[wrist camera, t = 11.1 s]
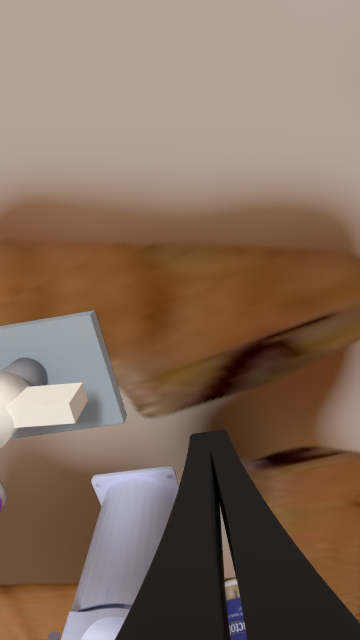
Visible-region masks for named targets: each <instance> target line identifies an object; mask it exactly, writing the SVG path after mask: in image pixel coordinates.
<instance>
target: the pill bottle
mask: <svg viewBox="0 0 360 640" xmlns="http://www.w3.org/2000/svg"><path fill="white" fill-rule="evenodd" d="M225 592H226V603H227V611H228V619H229V627H230V635H231V640H247V637H246V631H245V625H244V619H243V612H242V606H241V600H240V594H239V589H238V584H237V579H236V578H235V579H230V580H227V581H225Z"/></svg>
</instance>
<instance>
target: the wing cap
mask: <svg viewBox="0 0 360 640" xmlns="http://www.w3.org/2000/svg"><path fill="white" fill-rule="evenodd" d="M87 401H88V400H87V396H86V392H85V389H84V385H83V382H82V383H69V384H57V385H45V386H33V387H30V386H29V385H28V383H27V382H26V381H24V380H23V379H22V378H21V377H19V376H17V375H15V374H13V373H11V372H8V371H3V370H0V448H1V447H3V446H4V445H5V444H6V443H7V441H8V440H9V439H10V438H11V437H12V435H13V434H14V433H15V432H16V431H17V430H18V428H20V427H33V426H46V425H60V424H73V423H76V421H77V419H78V417H79V416H80V414H81V412H82V410H83V408H84V407H85V405H86V403H87Z"/></svg>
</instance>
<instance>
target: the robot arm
mask: <svg viewBox="0 0 360 640" xmlns="http://www.w3.org/2000/svg"><path fill="white" fill-rule="evenodd" d="M91 482H92V485H93V487H94V489H95V492H96V494H97V496H98V499H99V502H100V504H101V506H102V507H101V510H100V514H99V517H98V521H97V524H96V527H95V531H94V534H93V538H92V541H91V545H90V548H89V551H88V555H87V558H86V562H85V565H84V568H83V572H82V575H81V579H80V582H79V586H78V589H77V592H76V596H75V599H74V603H73V606H72V609H71V611H70V612H69V614H68V617H67V621H66V624H65V627H64V631H63V634H62V638H61V640H231V635H230V627H229V619H228V611H227V603H226V592H225V581H224V566H223V550H222V535H221V520H220V507H221V511H222V516H223V521H224V525H225V529H226V534H227V538H228V543H229V547H230V552H231V557H232V561H233V566H234V570H235V575H236V579H237V584H238V589H239V594H240V600H241V606H242V612H243V619H244V625H245V631H246V637H247V640H360V623H359V622H358V620H357V619H356V618H355V617H354V616H353V614H352V613H351V612H350V611H349V610H348V608H347V607H346V606H345V605H344V604H343V603H342V601H341V600H340V599H339V598H338V597H337V595H336V594H335V593H334V592H333V591H332V589H331V588H330V587H329V586H328V585H327V583H326V582H325V581H324V580H323V579H322V578H321V576H320V575H319V574H318V573H317V571H316V570H315V569H314V567H313V566H312V565H311V564H310V562H309V561H308V560H307V559H306V557H305V556H304V555H303V553H302V552H301V551H300V550H299V548H298V547H297V546H296V544H295V543H294V542H293V540H292V539H291V538H290V536H289V535H288V534H287V532H286V531H285V529H284V528H283V527H282V525H281V524H280V523H279V521H278V520H277V518H276V517H275V515H274V514H273V512H272V511H271V510H270V508H269V507H268V505H267V504H266V502H265V501H264V499H263V498H262V496H261V494H260V493H259V491H258V490H257V488H256V487H255V485H254V483H253V482H252V480H251V478H250V477H249V475H248V473H247V472H246V470H245V468H244V466H243V465H242V463H241V461H240V459H239V457H238V455H237V453H236V451H235V449H234V447H233V445H232V443H231V440H230V438H229V435H228V433H227V431H225V430H219V431H211V432H204V433H196V434H192V435H191V436H190V442H189V448H188V454H187V459H186V463H185V467H184V471H183V475H182V478H181V482H180V486H179V485H178V481H177V477H176V473H175V469H174V468H173V467H172V466H164V467H156V468H148V469H139V470H132V471H123V472H115V473H107V474H99V475H94V476H93V478H92V481H91ZM219 502H220V504H219ZM59 636H60V632H51V633H50V634H49V636H48V638H47V639H45V640H59Z"/></svg>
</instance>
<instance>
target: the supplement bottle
mask: <svg viewBox="0 0 360 640" xmlns="http://www.w3.org/2000/svg"><path fill="white" fill-rule="evenodd" d="M6 499H7V493H6V489H5V487H4V485H3V483H2V482H1V481H0V512H1V511H2V509H3V507H4V505H5V503H6Z"/></svg>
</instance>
